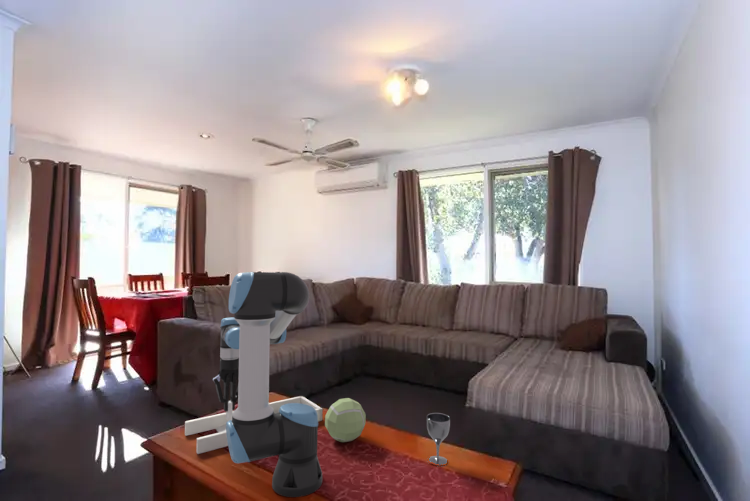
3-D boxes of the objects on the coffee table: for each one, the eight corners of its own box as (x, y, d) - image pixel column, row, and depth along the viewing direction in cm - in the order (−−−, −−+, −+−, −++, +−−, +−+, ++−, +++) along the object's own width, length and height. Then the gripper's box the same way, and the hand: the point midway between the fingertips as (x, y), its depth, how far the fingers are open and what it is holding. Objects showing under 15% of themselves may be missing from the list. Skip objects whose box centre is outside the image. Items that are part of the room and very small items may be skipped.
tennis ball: (370, 445, 149) (371, 404, 149) (331, 451, 143) (332, 409, 143) (357, 428, 163) (357, 391, 163) (321, 434, 157) (321, 395, 157)
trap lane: (322, 425, 170) (322, 408, 170) (197, 459, 140) (197, 439, 140) (301, 410, 185) (301, 395, 185) (184, 439, 155) (185, 421, 155)
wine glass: (431, 468, 133) (432, 422, 133) (422, 456, 141) (423, 413, 141) (453, 465, 135) (454, 420, 135) (443, 454, 143) (443, 411, 143)
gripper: (243, 353, 163) (242, 412, 162) (210, 358, 155) (208, 419, 154) (250, 357, 157) (249, 418, 156) (215, 362, 149) (214, 426, 148)
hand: (229, 418), depth 155 cm, fingers closed
